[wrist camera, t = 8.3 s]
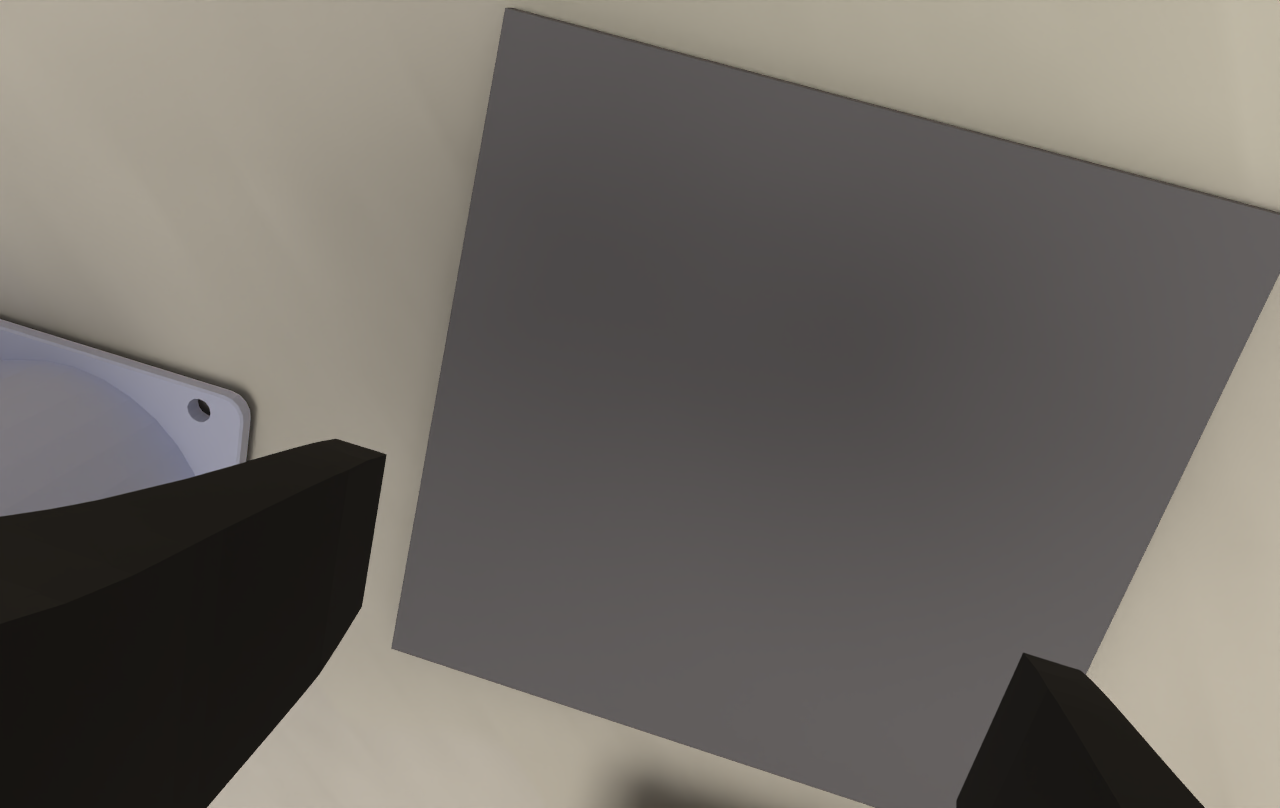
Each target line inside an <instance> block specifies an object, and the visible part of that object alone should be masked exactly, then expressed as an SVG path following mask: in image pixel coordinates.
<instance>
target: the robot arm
mask: <svg viewBox="0 0 1280 808" xmlns="http://www.w3.org/2000/svg"><path fill="white" fill-rule="evenodd" d="M198 399H201V400H202V401H204V402H206V404H207V405H208V406H209V408H210V415H207V414H206V413H204V412H203V411H202V410H201V409H200V407H199V404H198ZM250 421H251V415H250V409H249V407H248V404H247V402H246V401H245V400H244V399H243V398H242V397H241V396H240V395H239V394H237V393H235V392H233V391H231V390H228V389H225V388H222V387H218V386H215V385H212V384H209V383H205V382H202V381H199V380H196V379H192V378H189V377H186V376H183V375H180V374H176V373H173V372H170V371H167V370H163V369H160V368H157V367H154V366H150V365H147V364H144V363H141V362H138V361H134V360H131V359H128V358H125V357H121V356H118V355H115V354H112V353H108V352H105V351H102V350H99V349H96V348H92V347H89V346H86V345H83V344H79V343H76V342H73V341H70V340H66V339H63V338H60V337H57V336H54V335H50V334H47V333H44V332H41V331H37V330H34V329H31V328H28V327H24V326H21V325H18V324H15V323H12V322H8V321H5V320H2V319H0V808H207V807H208V806H209V804H210V803H211V802H212V801H213V800H214V799H215V797H216V796H217V795H218V794H219V793H220V791H221V790H222V789H223V788H224V787H225V786H226V784H227V783H228V782H229V781H230V780H231V779H232V777H233V776H234V775H235V774H236V773H237V772H238V770H239V769H240V768H241V767H242V766H243V765H244V763H245V762H246V761H247V760H248V759H249V757H250V756H251V755H252V754H253V753H254V752H255V750H256V749H257V748H258V747H259V746H260V745H261V743H262V742H263V741H264V740H265V739H266V738H267V736H268V735H269V734H270V733H271V732H272V731H273V729H274V728H275V727H276V726H277V725H278V723H279V722H280V721H281V720H282V719H283V718H284V716H285V715H286V714H287V713H288V712H289V710H290V709H291V708H292V707H293V706H294V704H295V703H296V702H297V701H298V700H299V698H300V697H301V696H302V695H303V694H304V692H305V691H306V690H307V689H308V688H309V686H310V685H311V684H312V683H313V681H314V680H315V679H316V678H317V677H318V675H319V674H320V672H321V671H322V669H323V668H324V666H325V665H326V663H327V662H328V660H329V659H330V657H331V655H332V654H333V652H334V651H335V649H336V648H337V646H338V645H339V643H340V641H341V640H342V638H343V637H344V635H345V633H346V632H347V630H348V628H349V627H350V625H351V623H352V622H353V620H354V619H355V617H356V615H357V614H358V612H359V610H360V609H361V607H362V603H363V596H364V590H365V584H366V578H367V572H368V566H369V559H370V553H371V547H372V541H373V535H374V529H375V522H376V516H377V510H378V504H379V498H380V492H381V485H382V479H383V473H384V467H385V461H386V455H387V454H383V453H380V452H377V451H374V450H371V449H367V448H364V447H361V446H358V445H354V444H351V443H348V442H345V441H342V440H338V439H332V440H326V441H321V442H316V443H312V444H308V445H304V446H300V447H297V448H293V449H289V450H286V451H282V452H279V453H275V454H272V455H268V456H265V457H261V458H258V459H254V460H251V461H247V462H246V458H247V449H248V439H249V430H250ZM956 808H1205V807H1204V806H1203V805H1202V804H1201V803H1200V802H1199V801H1198V800H1197V799H1196V798H1195V796H1194V795H1193V794H1192V793H1191V792H1190V791H1189V790H1188V789H1187V787H1186V786H1185V785H1184V784H1183V783H1182V782H1181V781H1180V779H1179V778H1178V777H1177V776H1176V775H1175V774H1174V773H1173V772H1172V770H1171V769H1170V768H1169V767H1168V766H1167V765H1166V764H1165V762H1164V761H1163V760H1162V759H1161V758H1160V757H1159V756H1158V754H1157V753H1156V752H1155V751H1154V750H1153V749H1152V747H1151V746H1150V745H1149V744H1148V743H1147V742H1146V741H1145V739H1144V738H1143V737H1142V736H1141V735H1140V734H1139V732H1138V731H1137V730H1136V729H1135V728H1134V727H1133V726H1132V724H1131V723H1130V722H1129V721H1128V720H1127V719H1126V718H1125V716H1124V715H1123V714H1122V713H1121V712H1120V711H1119V710H1118V708H1117V707H1116V706H1115V705H1114V704H1113V703H1112V702H1111V701H1110V699H1109V698H1108V697H1107V696H1106V695H1105V694H1104V693H1103V692H1102V691H1101V690H1100V689H1099V688H1098V687H1097V686H1096V685H1095V683H1094V682H1093V681H1092V680H1091V679H1089V678H1088V677H1087V676H1086V675H1085V674H1084V673H1083V672H1082V671H1081V670H1078V669H1075V668H1072V667H1068V666H1065V665H1062V664H1059V663H1056V662H1052V661H1049V660H1046V659H1043V658H1039V657H1036V656H1033V655H1030V654H1027V653H1023V654H1022V656H1021V658H1020V661H1019V663H1018V665H1017V667H1016V669H1015V672H1014V674H1013V676H1012V678H1011V680H1010V683H1009V685H1008V687H1007V689H1006V692H1005V694H1004V696H1003V698H1002V700H1001V703H1000V705H999V707H998V709H997V711H996V714H995V716H994V718H993V720H992V723H991V725H990V727H989V729H988V731H987V734H986V736H985V738H984V740H983V742H982V745H981V747H980V749H979V751H978V754H977V756H976V758H975V760H974V762H973V765H972V767H971V769H970V771H969V773H968V776H967V778H966V780H965V782H964V784H963V787H962V789H961V791H960V793H959V796H958V798H957V800H956Z"/></svg>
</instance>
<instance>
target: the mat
mask: <svg viewBox="0 0 1280 808" xmlns="http://www.w3.org/2000/svg"><path fill="white" fill-rule="evenodd" d="M1279 274H1280V213H1278V212H1274V211H1270V210H1267V209H1263V208H1259V207H1255V206H1252V205H1248V204H1244V203H1240V202H1237V201H1233V200H1229V199H1225V198H1222V197H1218V196H1214V195H1210V194H1207V193H1203V192H1199V191H1195V190H1192V189H1188V188H1184V187H1180V186H1177V185H1173V184H1169V183H1166V182H1162V181H1158V180H1154V179H1151V178H1147V177H1143V176H1139V175H1136V174H1132V173H1128V172H1124V171H1121V170H1117V169H1113V168H1109V167H1106V166H1102V165H1098V164H1094V163H1091V162H1087V161H1083V160H1079V159H1076V158H1072V157H1068V156H1064V155H1061V154H1057V153H1053V152H1049V151H1046V150H1042V149H1038V148H1034V147H1031V146H1027V145H1023V144H1020V143H1016V142H1012V141H1008V140H1005V139H1001V138H997V137H993V136H990V135H986V134H982V133H978V132H975V131H971V130H967V129H963V128H960V127H956V126H952V125H948V124H945V123H941V122H937V121H933V120H930V119H926V118H922V117H918V116H915V115H911V114H907V113H903V112H900V111H896V110H892V109H889V108H885V107H881V106H877V105H874V104H870V103H866V102H862V101H859V100H855V99H851V98H847V97H844V96H840V95H836V94H832V93H829V92H825V91H821V90H817V89H814V88H810V87H806V86H802V85H799V84H795V83H791V82H787V81H784V80H780V79H776V78H772V77H769V76H765V75H761V74H758V73H754V72H750V71H746V70H743V69H739V68H735V67H731V66H728V65H724V64H720V63H716V62H713V61H709V60H705V59H701V58H698V57H694V56H690V55H686V54H683V53H679V52H675V51H671V50H668V49H664V48H660V47H656V46H653V45H649V44H645V43H641V42H638V41H634V40H630V39H627V38H623V37H619V36H615V35H612V34H608V33H604V32H600V31H597V30H593V29H589V28H585V27H582V26H578V25H574V24H570V23H567V22H563V21H559V20H555V19H552V18H548V17H544V16H540V15H537V14H533V13H529V12H525V11H522V10H518V9H514V8H505V13H504V18H503V24H502V29H501V35H500V41H499V46H498V52H497V58H496V63H495V69H494V74H493V80H492V86H491V91H490V97H489V103H488V108H487V114H486V119H485V125H484V131H483V136H482V142H481V148H480V153H479V159H478V164H477V170H476V176H475V181H474V187H473V193H472V198H471V204H470V209H469V215H468V221H467V226H466V232H465V238H464V243H463V249H462V254H461V260H460V266H459V271H458V277H457V283H456V288H455V294H454V299H453V305H452V311H451V316H450V322H449V328H448V333H447V339H446V344H445V350H444V356H443V361H442V367H441V373H440V378H439V384H438V389H437V395H436V401H435V406H434V412H433V418H432V423H431V429H430V434H429V440H428V446H427V451H426V457H425V462H424V468H423V474H422V479H421V485H420V491H419V496H418V502H417V507H416V513H415V519H414V524H413V530H412V536H411V541H410V547H409V552H408V558H407V564H406V569H405V575H404V581H403V586H402V592H401V597H400V603H399V609H398V614H397V620H396V626H395V631H394V637H393V642H392V649H395V650H398V651H401V652H404V653H407V654H410V655H413V656H416V657H419V658H422V659H425V660H428V661H431V662H434V663H437V664H440V665H443V666H446V667H449V668H452V669H455V670H458V671H462V672H465V673H468V674H471V675H474V676H477V677H480V678H483V679H486V680H489V681H492V682H495V683H498V684H501V685H504V686H507V687H510V688H513V689H516V690H519V691H522V692H525V693H529V694H532V695H535V696H538V697H541V698H544V699H547V700H550V701H553V702H556V703H559V704H562V705H565V706H568V707H571V708H574V709H577V710H580V711H583V712H586V713H589V714H592V715H595V716H599V717H602V718H605V719H608V720H611V721H614V722H617V723H620V724H623V725H626V726H629V727H632V728H635V729H638V730H641V731H644V732H647V733H650V734H653V735H656V736H659V737H662V738H666V739H669V740H672V741H675V742H678V743H681V744H684V745H687V746H690V747H693V748H696V749H699V750H702V751H705V752H708V753H711V754H714V755H717V756H720V757H723V758H726V759H729V760H732V761H736V762H739V763H742V764H745V765H748V766H751V767H754V768H757V769H760V770H763V771H766V772H769V773H772V774H775V775H778V776H781V777H784V778H787V779H790V780H793V781H796V782H799V783H802V784H806V785H809V786H812V787H815V788H818V789H821V790H824V791H827V792H830V793H833V794H836V795H839V796H842V797H845V798H848V799H851V800H854V801H857V802H860V803H863V804H866V805H869V806H873V807H876V808H956V800H957V798H958V796H959V793H960V791H961V789H962V787H963V784H964V782H965V780H966V778H967V776H968V773H969V771H970V769H971V767H972V765H973V762H974V760H975V758H976V756H977V754H978V751H979V749H980V747H981V745H982V742H983V740H984V738H985V736H986V734H987V731H988V729H989V727H990V725H991V723H992V720H993V718H994V716H995V714H996V711H997V709H998V707H999V705H1000V703H1001V700H1002V698H1003V696H1004V694H1005V692H1006V689H1007V687H1008V685H1009V683H1010V680H1011V678H1012V676H1013V674H1014V672H1015V669H1016V667H1017V665H1018V663H1019V661H1020V658H1021V656H1022V654H1023V653H1027V654H1030V655H1033V656H1036V657H1039V658H1043V659H1046V660H1049V661H1052V662H1056V663H1059V664H1062V665H1065V666H1068V667H1072V668H1075V669H1078V670H1081V671H1082V672H1083V673H1084V674H1085V675H1086V673H1087V671H1088V669H1089V667H1090V664H1091V662H1092V660H1093V658H1094V656H1095V654H1096V652H1097V650H1098V648H1099V646H1100V644H1101V642H1102V640H1103V638H1104V636H1105V633H1106V631H1107V629H1108V627H1109V625H1110V623H1111V621H1112V619H1113V617H1114V615H1115V613H1116V611H1117V609H1118V607H1119V604H1120V602H1121V600H1122V598H1123V596H1124V594H1125V592H1126V590H1127V588H1128V586H1129V584H1130V582H1131V580H1132V578H1133V576H1134V573H1135V571H1136V569H1137V567H1138V565H1139V563H1140V561H1141V559H1142V557H1143V555H1144V553H1145V551H1146V549H1147V547H1148V545H1149V542H1150V540H1151V538H1152V536H1153V534H1154V532H1155V530H1156V528H1157V526H1158V524H1159V522H1160V520H1161V518H1162V516H1163V514H1164V511H1165V509H1166V507H1167V505H1168V503H1169V501H1170V499H1171V497H1172V495H1173V493H1174V491H1175V489H1176V487H1177V485H1178V482H1179V480H1180V478H1181V476H1182V474H1183V472H1184V470H1185V468H1186V466H1187V464H1188V462H1189V460H1190V458H1191V456H1192V454H1193V451H1194V449H1195V447H1196V445H1197V443H1198V441H1199V439H1200V437H1201V435H1202V433H1203V431H1204V429H1205V427H1206V425H1207V423H1208V420H1209V418H1210V416H1211V414H1212V412H1213V410H1214V408H1215V406H1216V404H1217V402H1218V400H1219V398H1220V396H1221V394H1222V391H1223V389H1224V387H1225V385H1226V383H1227V381H1228V379H1229V377H1230V375H1231V373H1232V371H1233V369H1234V367H1235V365H1236V363H1237V360H1238V358H1239V356H1240V354H1241V352H1242V350H1243V348H1244V346H1245V344H1246V342H1247V340H1248V338H1249V336H1250V334H1251V332H1252V329H1253V327H1254V325H1255V323H1256V321H1257V319H1258V317H1259V315H1260V313H1261V311H1262V309H1263V307H1264V305H1265V303H1266V301H1267V298H1268V296H1269V294H1270V292H1271V290H1272V288H1273V286H1274V284H1275V282H1276V280H1277V278H1278V276H1279Z"/></svg>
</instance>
